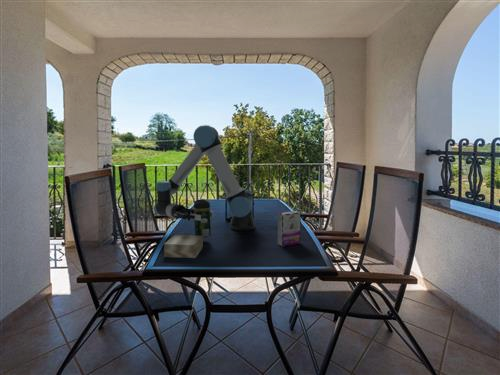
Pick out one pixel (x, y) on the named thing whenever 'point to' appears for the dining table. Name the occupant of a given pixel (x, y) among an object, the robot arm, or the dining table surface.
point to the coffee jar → (202, 218)
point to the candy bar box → (289, 228)
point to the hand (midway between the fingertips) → (206, 216)
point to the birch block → (183, 246)
